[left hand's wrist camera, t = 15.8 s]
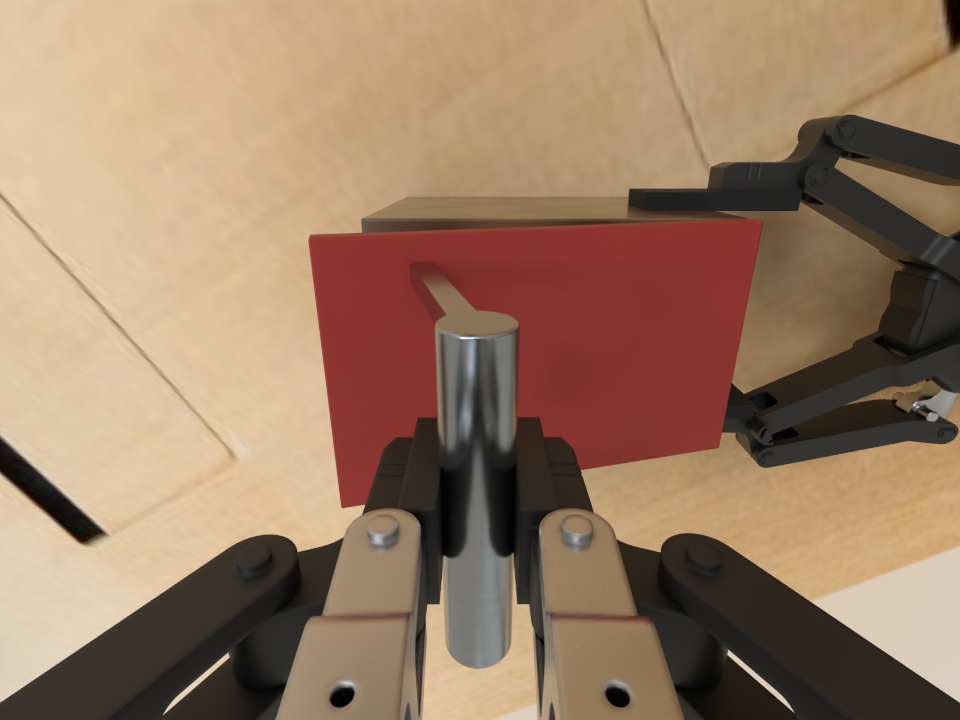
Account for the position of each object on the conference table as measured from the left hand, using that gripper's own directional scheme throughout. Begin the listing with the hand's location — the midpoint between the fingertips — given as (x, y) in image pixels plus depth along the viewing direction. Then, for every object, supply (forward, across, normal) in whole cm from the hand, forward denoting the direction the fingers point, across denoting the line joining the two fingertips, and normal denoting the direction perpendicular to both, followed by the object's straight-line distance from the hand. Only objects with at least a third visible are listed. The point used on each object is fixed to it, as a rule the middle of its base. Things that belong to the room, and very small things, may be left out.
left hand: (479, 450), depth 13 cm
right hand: (+13, +7, 0) cm, 15 cm away
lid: (+6, +2, 0) cm, 7 cm away
